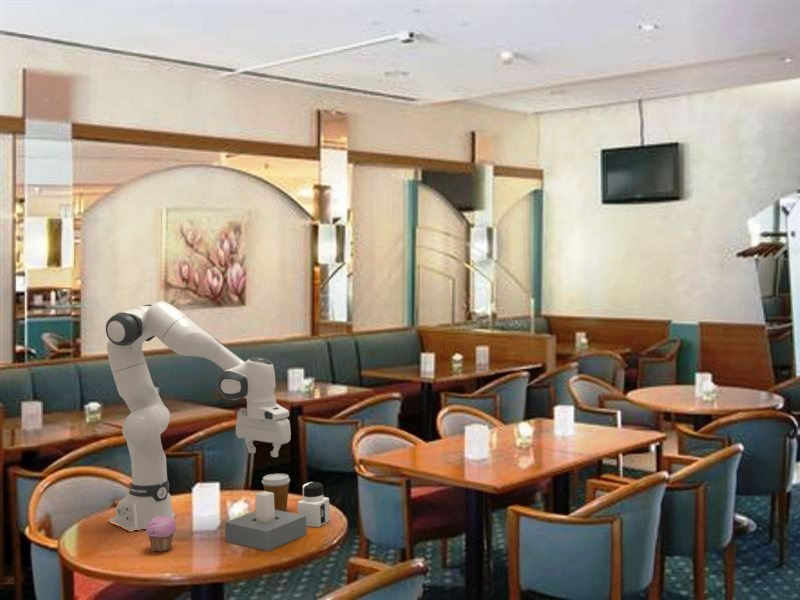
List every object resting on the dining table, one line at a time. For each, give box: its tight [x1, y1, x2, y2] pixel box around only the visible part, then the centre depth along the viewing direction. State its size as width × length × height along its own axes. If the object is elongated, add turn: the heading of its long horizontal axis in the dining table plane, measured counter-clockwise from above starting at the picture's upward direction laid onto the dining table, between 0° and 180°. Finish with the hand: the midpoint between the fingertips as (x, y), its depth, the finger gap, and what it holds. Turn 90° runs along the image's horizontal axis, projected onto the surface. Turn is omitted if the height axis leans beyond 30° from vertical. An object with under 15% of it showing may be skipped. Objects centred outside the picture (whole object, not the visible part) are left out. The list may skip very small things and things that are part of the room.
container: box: [296, 481, 331, 528], centre depth 293 cm, size 8×8×13 cm
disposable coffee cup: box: [261, 473, 291, 512], centre depth 307 cm, size 10×10×12 cm
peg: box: [254, 490, 275, 523], centre depth 280 cm, size 4×4×14 cm
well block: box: [224, 510, 307, 552], centre depth 280 cm, size 18×18×6 cm
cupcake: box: [145, 516, 177, 552], centre depth 272 cm, size 9×9×10 cm
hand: (263, 454), depth 278 cm, fingers open, 8 cm apart
